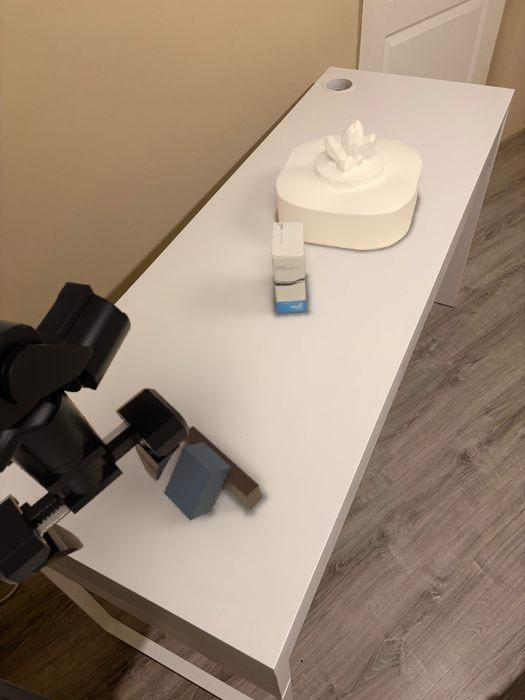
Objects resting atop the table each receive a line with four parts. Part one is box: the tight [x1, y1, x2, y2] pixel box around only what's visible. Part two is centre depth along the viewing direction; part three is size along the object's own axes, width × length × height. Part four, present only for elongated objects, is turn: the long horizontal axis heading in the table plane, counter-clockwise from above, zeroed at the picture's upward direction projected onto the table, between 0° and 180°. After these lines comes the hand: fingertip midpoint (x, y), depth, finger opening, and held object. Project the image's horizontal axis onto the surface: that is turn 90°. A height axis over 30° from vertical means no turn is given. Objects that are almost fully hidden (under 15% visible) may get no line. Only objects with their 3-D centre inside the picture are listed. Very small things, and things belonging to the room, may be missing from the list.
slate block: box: [163, 442, 231, 521], centre depth 59 cm, size 7×5×8 cm
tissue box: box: [275, 118, 424, 251], centre depth 90 cm, size 25×25×16 cm
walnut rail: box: [182, 425, 262, 511], centre depth 62 cm, size 2×12×4 cm, turn 46°
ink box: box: [270, 221, 307, 314], centre depth 78 cm, size 8×5×12 cm, turn 179°
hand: (118, 509), depth 50 cm, fingers open, 9 cm apart
